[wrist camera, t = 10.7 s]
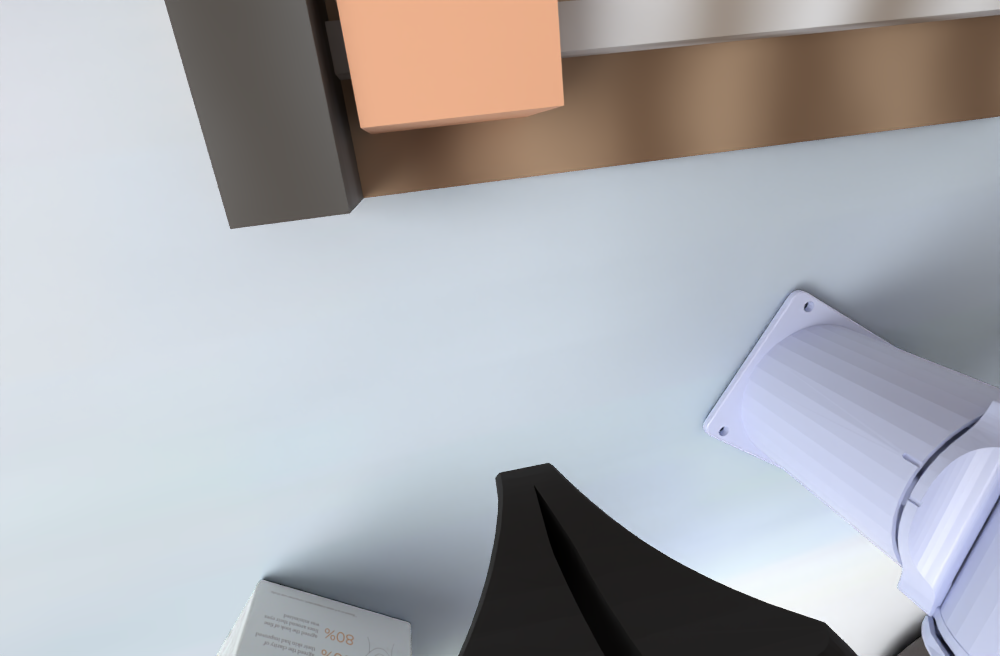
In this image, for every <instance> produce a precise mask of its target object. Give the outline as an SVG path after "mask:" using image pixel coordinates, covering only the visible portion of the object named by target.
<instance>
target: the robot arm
mask: <svg viewBox="0 0 1000 656" xmlns="http://www.w3.org/2000/svg"><path fill="white" fill-rule="evenodd" d="M807 302H808V305H807V307H806V308H805V309H804V306H805V304H806V303H807ZM722 427H724V429H723V430H722V431H720V429H721V428H722ZM703 429H704V431H705V432H706V433H707V434H709V435H710V436H712V437H714V438H716V439H718V440H720V441H723V442H725V443H727V444H729V445H731V446H734V447H736V448H738V449H740V450H742V451H744V452H747V453H749V454H751V455H753V456H755V457H758V458H760V459H762V460H764V461H766V462H769V463H771V464H773V465H775V466H777V467H779V468H782V469H784V470H785V471H786V472H787V473H789V474H790V475H791V476H792V477H793V478H795V479H796V480H797V481H798V482H799V483H801V484H802V485H803V486H804V487H805V488H807V489H808V490H809V491H810V492H811V493H813V494H814V495H815V496H816V497H817V498H819V499H820V500H821V501H822V502H823V503H825V504H826V505H827V506H828V507H829V508H831V509H832V510H833V511H834V512H835V513H837V514H838V515H839V516H840V517H841V518H843V519H844V520H845V521H846V522H848V523H849V524H850V525H851V526H852V527H854V528H855V529H856V530H857V531H858V532H860V533H861V534H862V535H863V536H864V537H866V538H867V539H868V540H869V541H870V542H872V543H873V544H874V545H875V546H876V547H878V548H879V549H880V550H881V551H882V552H884V553H885V554H886V555H887V556H888V557H890V558H891V559H892V560H893V561H894V562H896V563H897V564H898V565H899V566H900V567H902V574H901V578H900V580H899V583H898V585H897V588H898V589H899V590H900V591H901V592H902V593H904V594H905V595H906V596H907V597H908V598H909V599H910V600H912V601H913V602H914V603H915V604H916V605H917V606H918V607H920V608H921V609H922V610H923V611H924V612H925V613H926V614H927V615H926V616H925V618H924V620H923V622H922V638H923V641H924V644H925V647H926V649H927V651H928V652H929V654H930V656H1000V388H998V387H995V386H993V385H990V384H988V383H985V382H983V381H980V380H977V379H975V378H972V377H970V376H967V375H965V374H962V373H960V372H957V371H955V370H952V369H949V368H947V367H944V366H942V365H939V364H937V363H934V362H932V361H929V360H927V359H924V358H922V357H919V356H916V355H914V354H911V353H909V352H906V351H904V350H901V349H899V348H897V347H895V346H893V345H892V344H890V343H888V342H887V341H885V340H884V339H882V338H880V337H879V336H877V335H875V334H874V333H872V332H871V331H869V330H867V329H866V328H864V327H862V326H861V325H859V324H858V323H856V322H854V321H853V320H851V319H850V318H848V317H846V316H845V315H843V314H841V313H840V312H838V311H837V310H835V309H833V308H832V307H830V306H828V305H827V304H825V303H824V302H822V301H820V300H819V299H817V298H816V297H814V296H812V295H811V294H809V293H807V292H805V291H802V290H795V291H793V292H792V293H791V294H790V295H789V296H788V297H787V299H786V300H785V302H784V303H783V305H782V306H781V308H780V309H779V311H778V312H777V314H776V315H775V317H774V318H773V320H772V321H771V323H770V324H769V326H768V327H767V329H766V330H765V332H764V333H763V335H762V336H761V338H760V339H759V341H758V342H757V344H756V345H755V347H754V348H753V350H752V351H751V353H750V354H749V356H748V357H747V358H746V360H745V361H744V363H743V364H742V366H741V367H740V369H739V370H738V372H737V373H736V375H735V376H734V378H733V379H732V381H731V382H730V384H729V385H728V387H727V388H726V390H725V391H724V393H723V394H722V396H721V397H720V399H719V400H718V402H717V403H716V405H715V406H714V408H713V409H712V411H711V412H710V414H709V415H708V417H707V418H706V420H705V421H704V424H703ZM719 431H720V432H719ZM495 479H496V486H497V494H498V516H497V525H496V534H495V540H494V545H493V550H492V555H491V560H490V565H489V569H488V573H487V577H486V581H485V584H484V588H483V591H482V595H481V598H480V601H479V604H478V607H477V610H476V613H475V615H474V618H473V621H472V624H471V627H470V629H469V632H468V634H467V637H466V639H465V642H464V644H463V646H462V648H461V651H460V653H459V655H458V656H858V655H857V654H856V653H855V652H854V651H853V650H852V649H851V648H850V647H849V646H848V645H847V644H846V643H845V642H844V641H843V640H842V639H841V638H840V637H839V636H838V635H837V634H836V633H835V632H834V631H833V630H832V629H831V628H830V627H829V626H828V625H827V624H826V623H824V622H821V621H819V620H816V619H813V618H810V617H807V616H804V615H801V614H798V613H795V612H792V611H789V610H786V609H783V608H780V607H777V606H774V605H771V604H769V603H766V602H763V601H761V600H758V599H756V598H753V597H751V596H749V595H746V594H744V593H741V592H739V591H736V590H734V589H732V588H729V587H727V586H725V585H723V584H721V583H718V582H716V581H714V580H712V579H710V578H708V577H706V576H704V575H702V574H700V573H698V572H696V571H694V570H692V569H690V568H688V567H686V566H684V565H682V564H681V563H679V562H677V561H675V560H673V559H671V558H670V557H668V556H666V555H665V554H663V553H661V552H660V551H658V550H657V549H655V548H653V547H652V546H650V545H648V544H647V543H645V542H644V541H642V540H641V539H639V538H638V537H637V536H635V535H634V534H632V533H631V532H630V531H628V530H627V529H625V528H624V527H623V526H621V525H620V524H619V523H617V522H616V521H615V520H613V519H612V518H611V517H610V516H608V515H607V514H606V513H605V512H603V511H602V510H601V509H600V508H599V507H597V506H596V505H595V504H594V503H593V502H591V501H590V500H589V499H588V498H587V497H586V496H585V495H583V494H582V493H581V492H580V491H579V490H578V489H577V488H576V487H575V486H573V485H572V484H571V483H570V482H569V481H568V480H567V479H566V478H565V477H564V476H563V475H562V474H561V473H560V472H559V471H558V470H557V469H556V468H555V467H554V466H553V465H551V464H550V463H546V464H541V465H536V466H531V467H526V468H521V469H516V470H511V471H506V472H501V473H499V474H498V475H497V477H496V478H495Z"/></svg>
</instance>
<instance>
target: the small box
mask: <svg viewBox="0 0 1000 656" xmlns="http://www.w3.org/2000/svg"><path fill="white" fill-rule="evenodd" d="M216 656H412V648H411V624H410V623H409V622H406V621H403V620H399V619H395V618H392V617H388V616H385V615H382V614H378V613H375V612H372V611H368V610H365V609H361V608H358V607H355V606H351V605H348V604H344V603H341V602H338V601H334V600H331V599H328V598H324V597H321V596H317V595H314V594H311V593H307V592H304V591H300V590H296V589H293V588H290V587H286V586H282V585H279V584H276V583H272V582H269V581H266V580H260V581H259V582H258V583H257V585H256V587H255V589H254V591H253V593H252V594H251V596H250V598H249V599H248V601H247V603H246V605H245V606H244V608H243V610H242V612H241V613H240V615H239V617H238V619H237V620H236V622H235V624H234V625H233V627H232V629H231V631H230V632H229V634H228V636H227V638H226V639H225V641H224V643H223V645H222V646H221V648H220V650H219V652H218V653H217V655H216Z"/></svg>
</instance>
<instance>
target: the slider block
mask: <svg viewBox="0 0 1000 656" xmlns="http://www.w3.org/2000/svg"><path fill="white" fill-rule="evenodd" d="M336 1H337V6H338V11H339V17H340V22H341V27H342V32H343V38H344V43H345V48H346V53H347V59H348V64H349V69H350V75H351V80H352V85H353V90H354V96H355V101H356V106H357V111H358V117H359V122H360V127H361V129H363V130H365V131H366V132H368V133H370V134H378V133H387V132H396V131H405V130H413V129H422V128H431V127H440V126H449V125H458V124H467V123H476V122H484V121H493V120H502V119H511V118H520V117H528V116H531V115H535V114H538V113H541V112H544V111H548V110H551V109H554V108H558V107H561V106H564V95H563V79H562V63H561V47H560V32H559V16H558V0H336Z"/></svg>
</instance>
